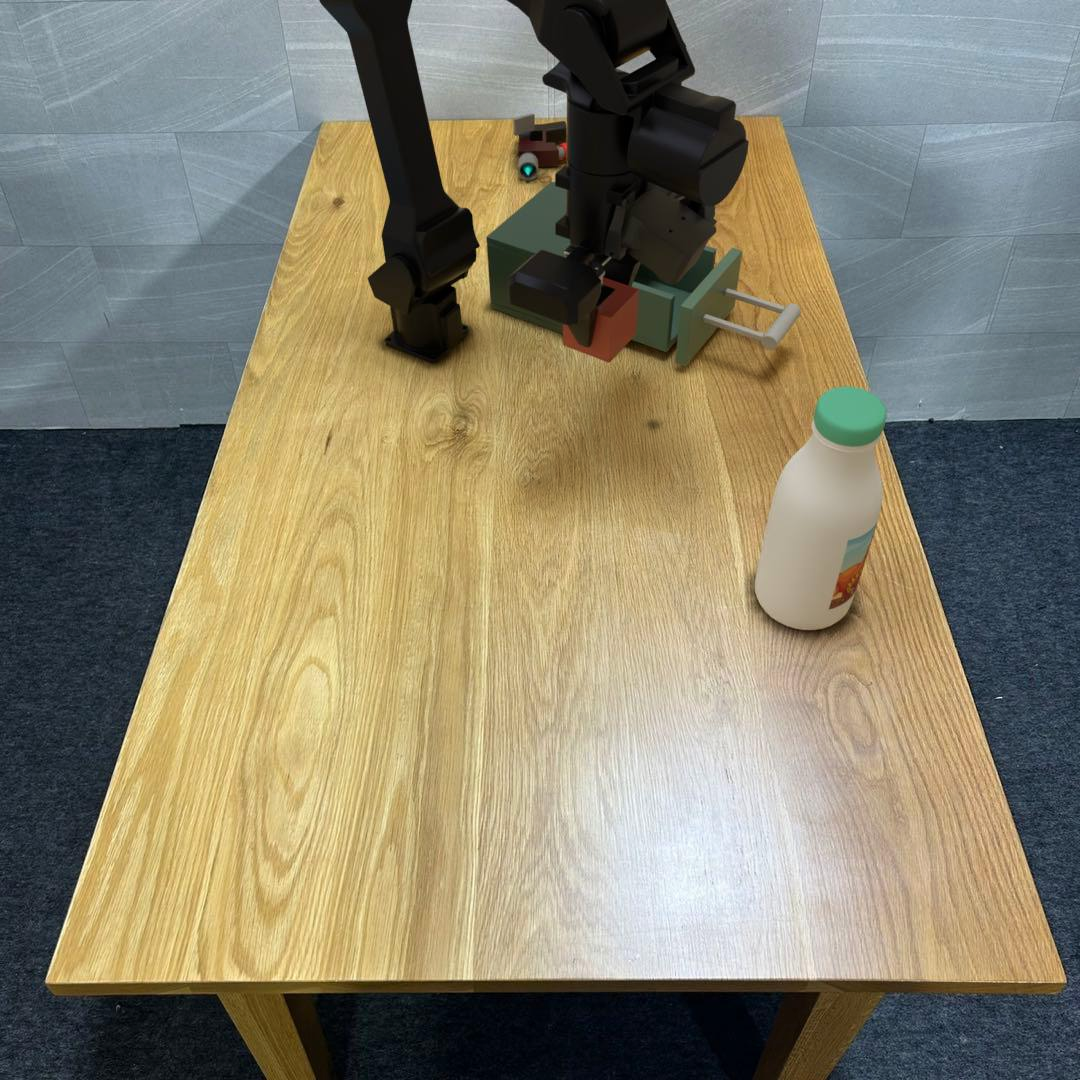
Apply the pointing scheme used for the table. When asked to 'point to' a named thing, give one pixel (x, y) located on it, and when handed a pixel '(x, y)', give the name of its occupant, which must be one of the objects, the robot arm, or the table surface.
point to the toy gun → (539, 144)
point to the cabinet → (525, 248)
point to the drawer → (700, 307)
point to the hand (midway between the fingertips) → (599, 330)
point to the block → (610, 323)
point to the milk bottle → (824, 514)
